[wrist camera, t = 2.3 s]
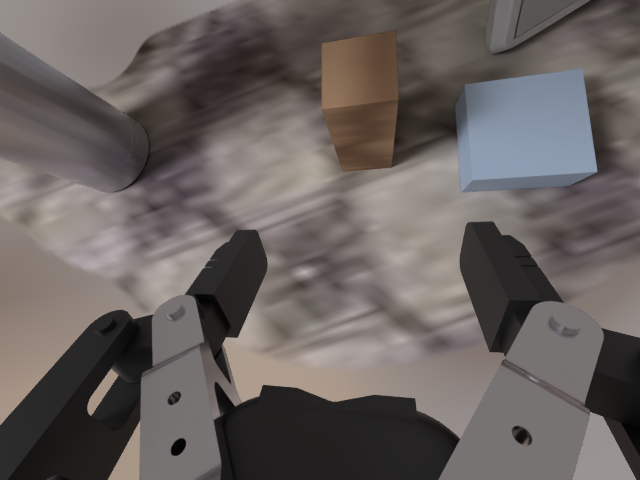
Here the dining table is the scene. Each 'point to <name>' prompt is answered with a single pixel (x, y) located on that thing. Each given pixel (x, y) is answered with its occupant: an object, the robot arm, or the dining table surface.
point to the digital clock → (522, 20)
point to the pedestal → (524, 132)
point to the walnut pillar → (361, 99)
